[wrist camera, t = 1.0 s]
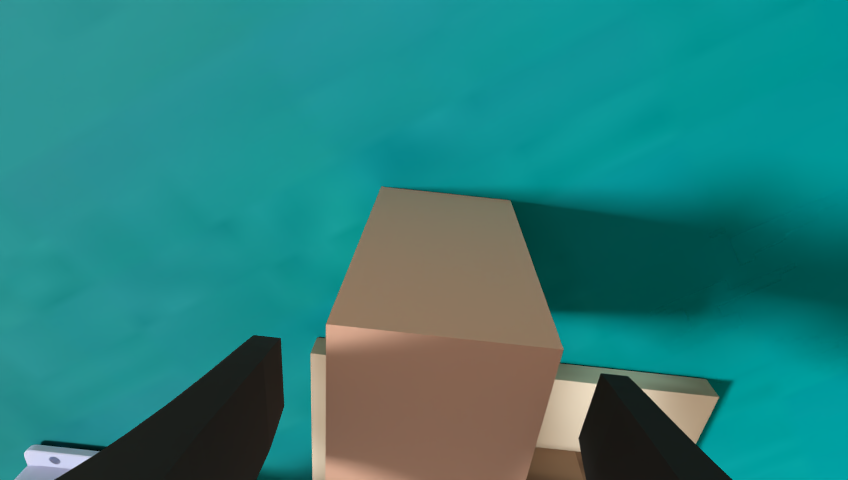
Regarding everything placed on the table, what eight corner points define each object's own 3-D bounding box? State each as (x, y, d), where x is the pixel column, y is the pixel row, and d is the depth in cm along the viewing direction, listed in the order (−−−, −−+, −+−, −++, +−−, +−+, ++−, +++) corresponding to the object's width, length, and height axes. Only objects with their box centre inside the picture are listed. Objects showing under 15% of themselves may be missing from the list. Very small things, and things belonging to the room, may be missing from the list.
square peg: (374, 296, 18) (325, 483, 11) (381, 186, 16) (325, 324, 9) (489, 308, 18) (518, 504, 11) (510, 200, 16) (563, 349, 9)
